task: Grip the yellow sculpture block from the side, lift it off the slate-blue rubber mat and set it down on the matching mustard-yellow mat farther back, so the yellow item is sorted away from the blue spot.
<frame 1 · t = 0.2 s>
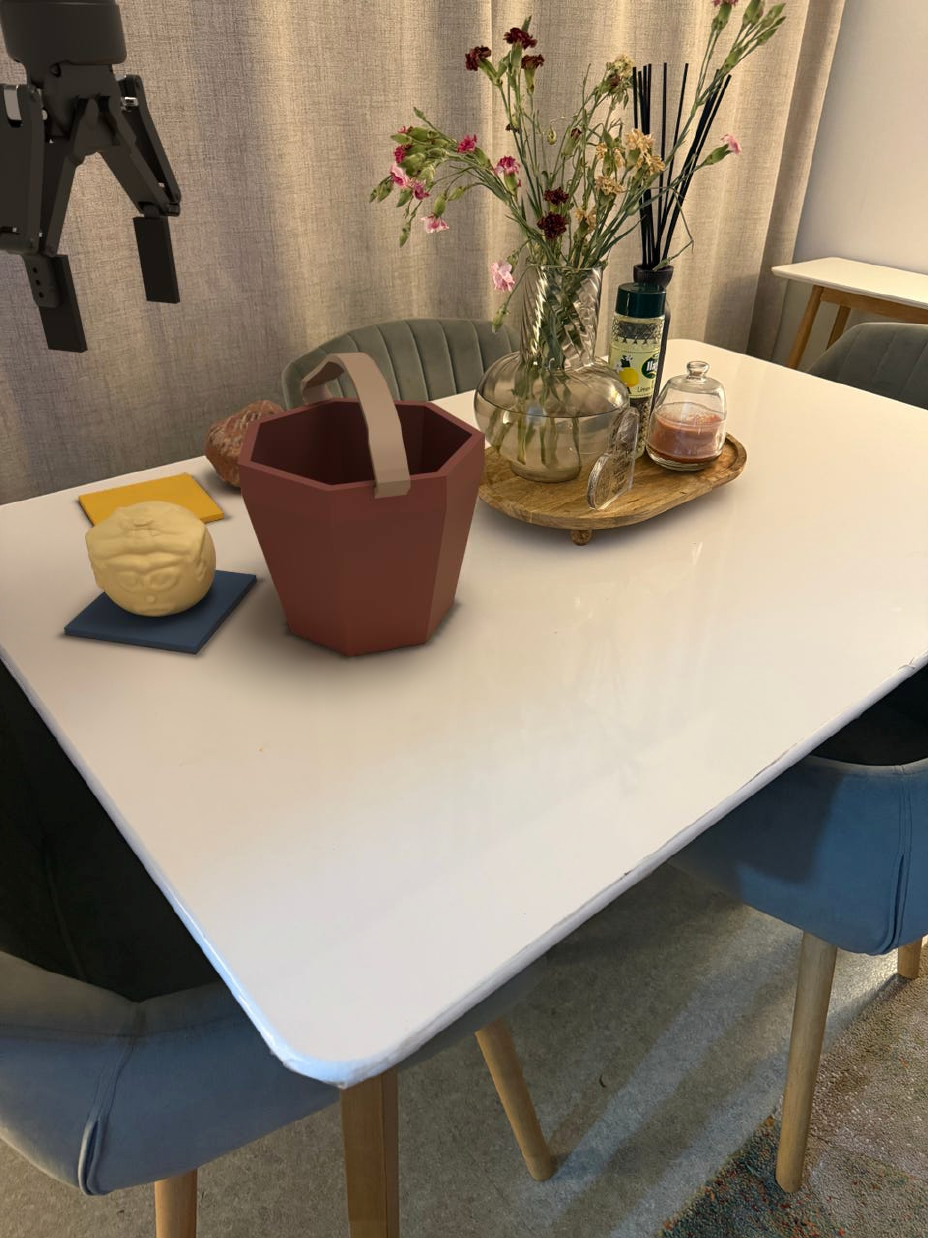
hand: (119, 324, 69), 30 cm above the table, tool pointing down, fingers open, 13 cm apart
sculpture: (164, 601, 91), point 1 cm above the table, touching blue mat
bucket: (375, 608, 92), on the table
yellow mat: (150, 509, 110), on the table
blue mat: (165, 606, 91), on the table
decorative rock: (258, 479, 118), on the table
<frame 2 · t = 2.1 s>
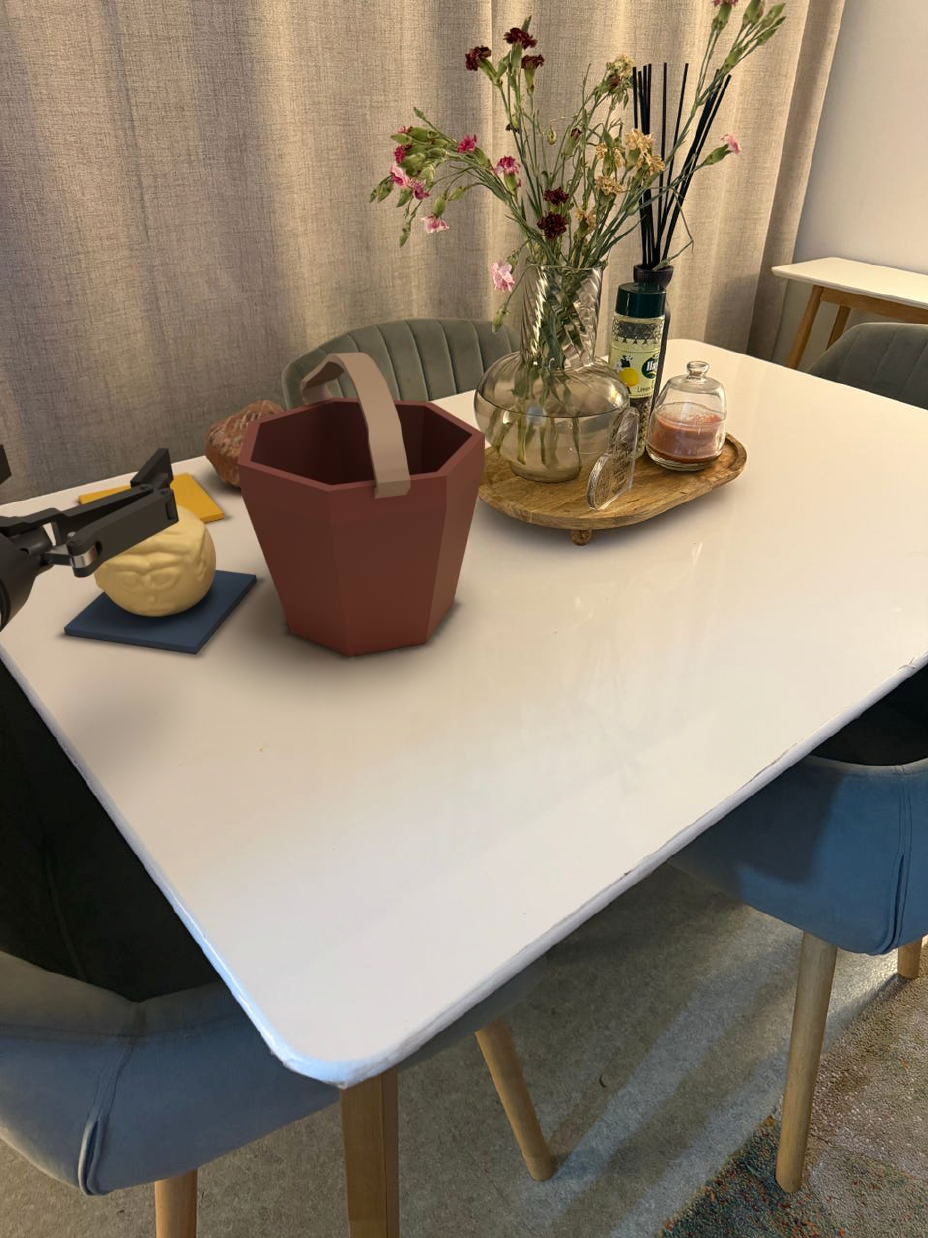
hand: (84, 461, 72), 20 cm above the table, tool horizontal, fingers open, 13 cm apart
nothing on the table moved.
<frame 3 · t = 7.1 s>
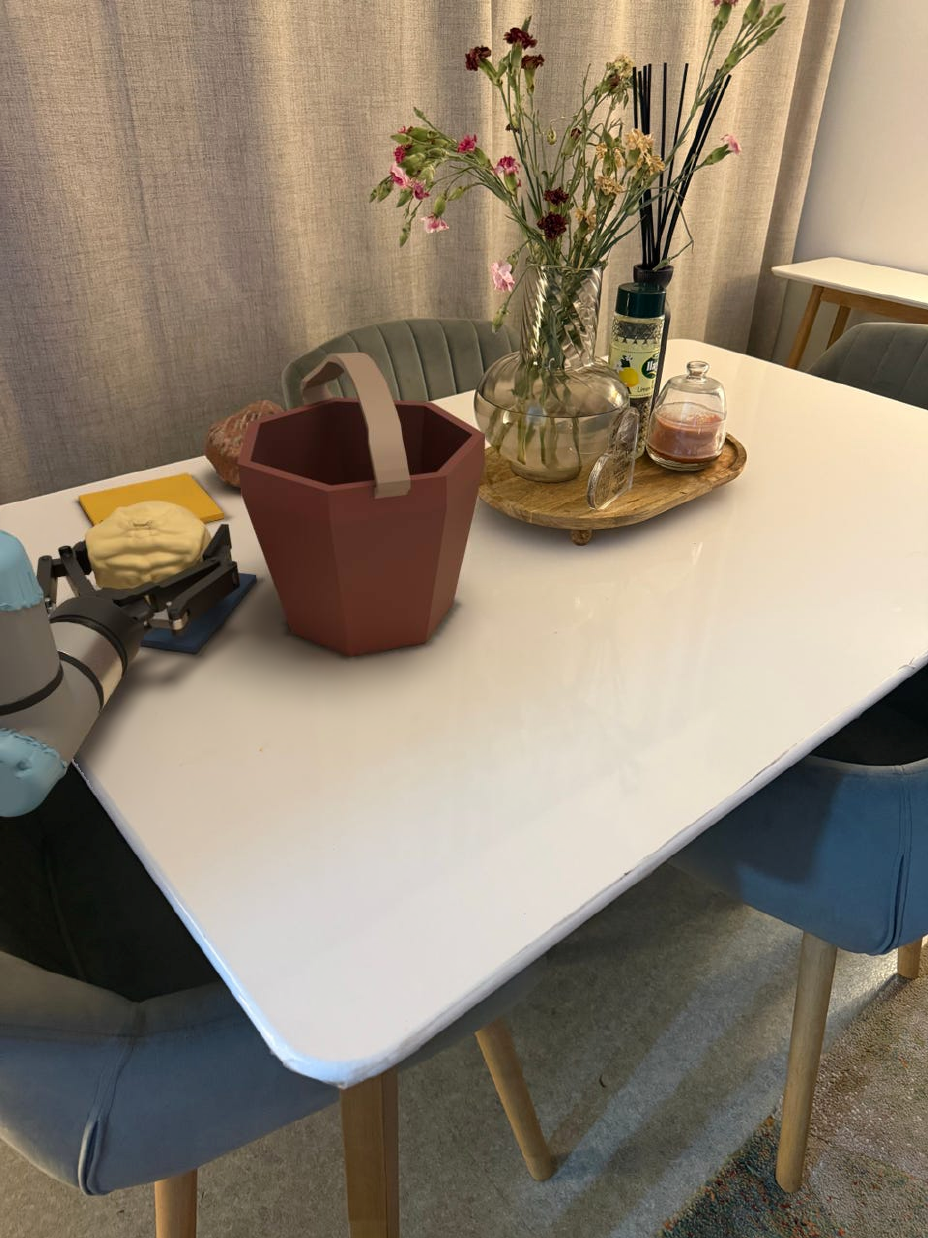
hand: (167, 533, 91), 6 cm above the table, tool horizontal, fingers closed on sculpture, 12 cm apart
sculpture: (164, 601, 91), point 1 cm above the table, touching blue mat, gripper
everything else where it was.
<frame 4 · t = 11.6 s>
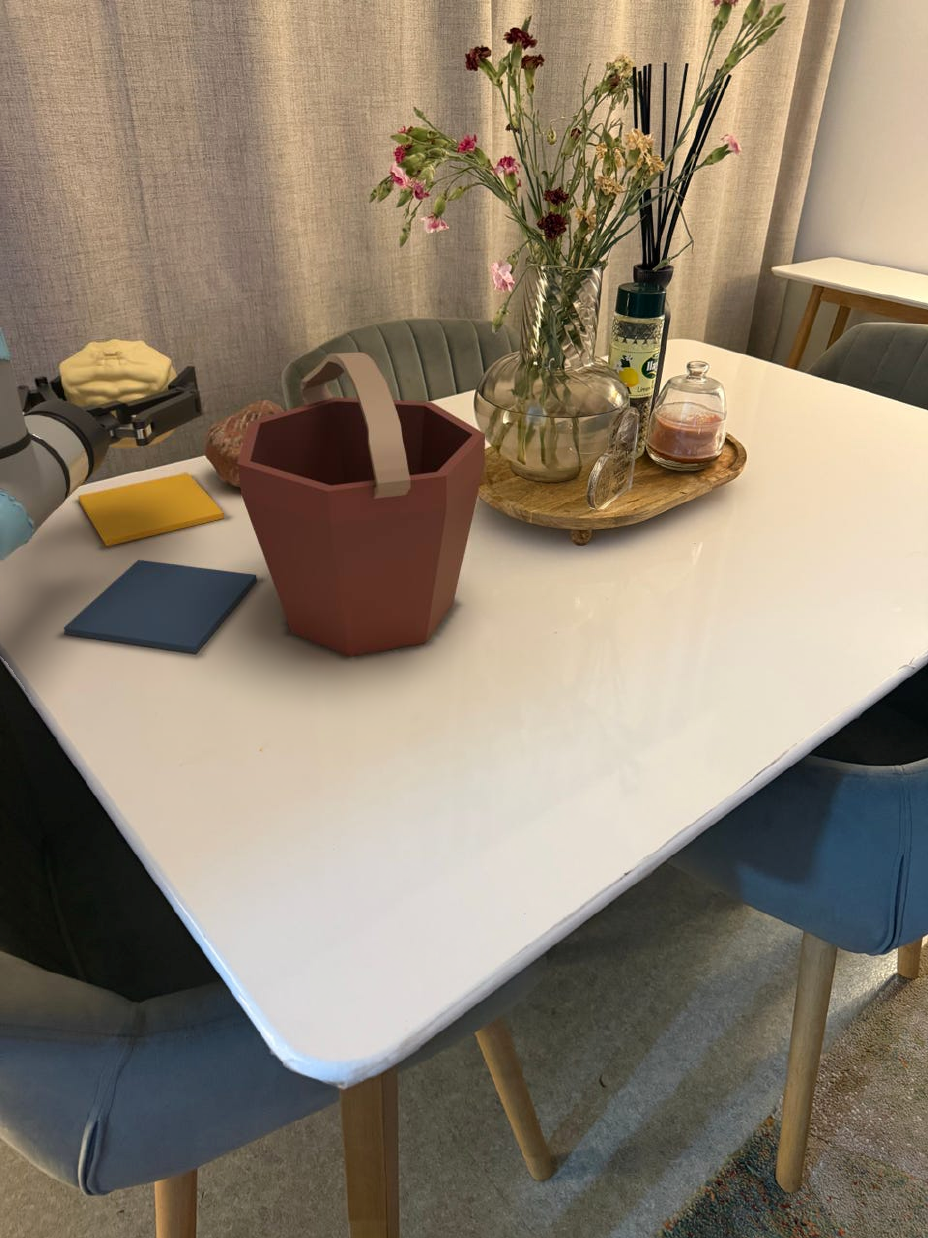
hand: (137, 376, 98), 18 cm above the table, tool horizontal, fingers closed on sculpture, 12 cm apart
sculpture: (135, 439, 98), point 12 cm above the table, touching gripper
everything else where it was.
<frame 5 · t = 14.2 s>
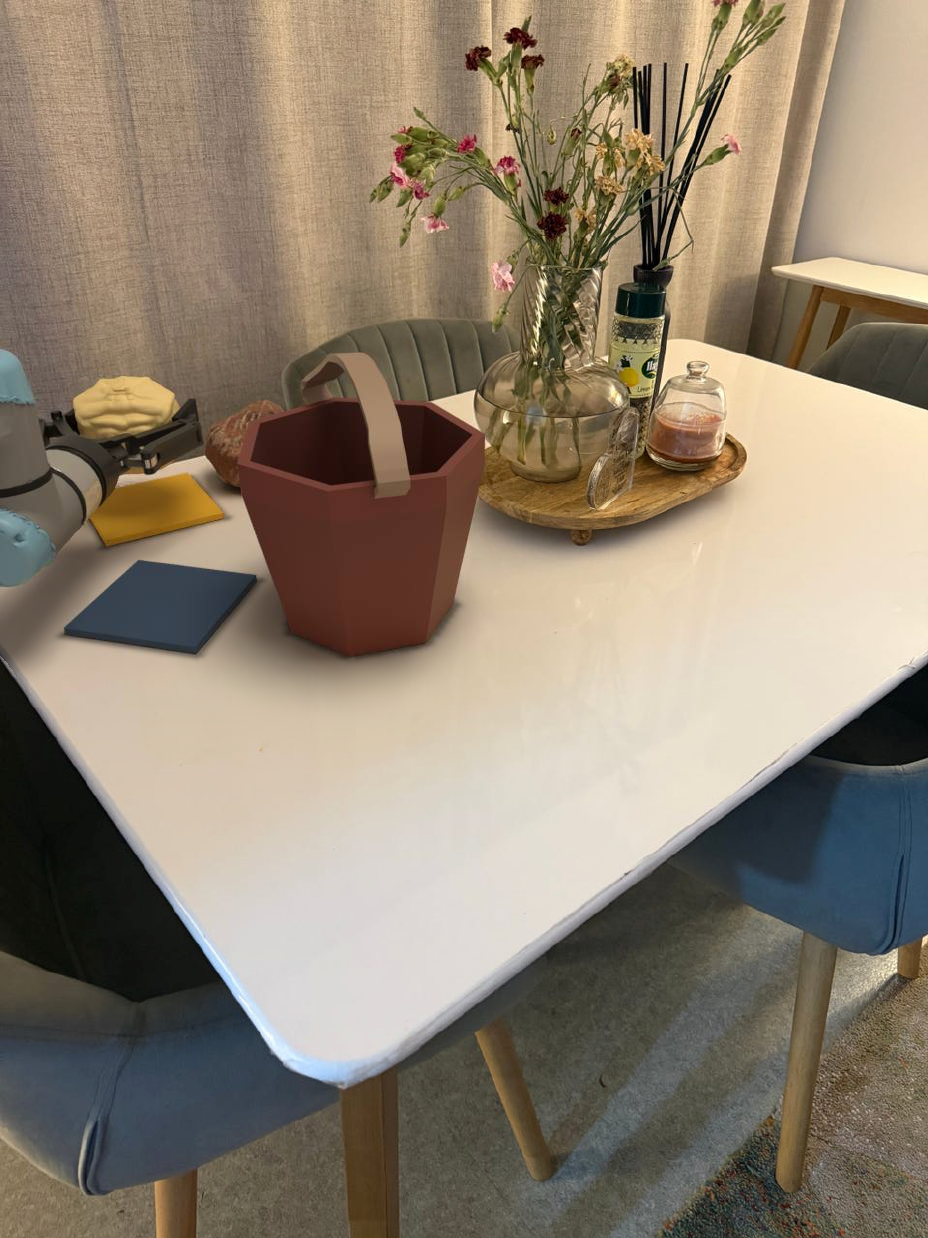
hand: (143, 408, 107), 12 cm above the table, tool horizontal, fingers closed on sculpture, 12 cm apart
sculpture: (141, 465, 107), point 6 cm above the table, touching gripper
everything else where it was.
when the fingers open (6 cm above the table, at t = 16.4 s): sculpture stays where it is, resting on yellow mat.
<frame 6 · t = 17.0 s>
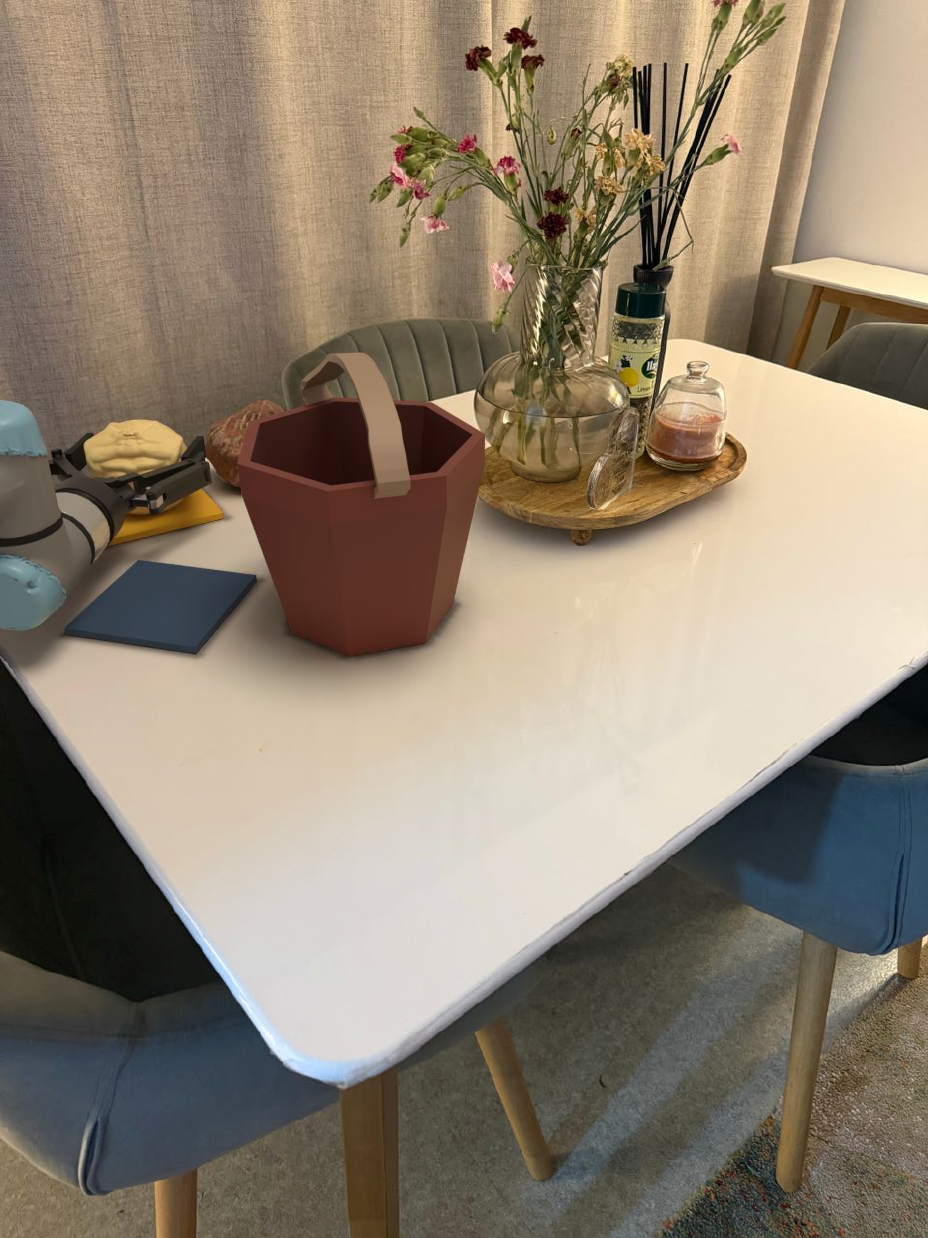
hand: (147, 444, 109), 7 cm above the table, tool horizontal, fingers open, 13 cm apart
sculpture: (149, 505, 110), point 1 cm above the table, touching yellow mat
everything else where it was.
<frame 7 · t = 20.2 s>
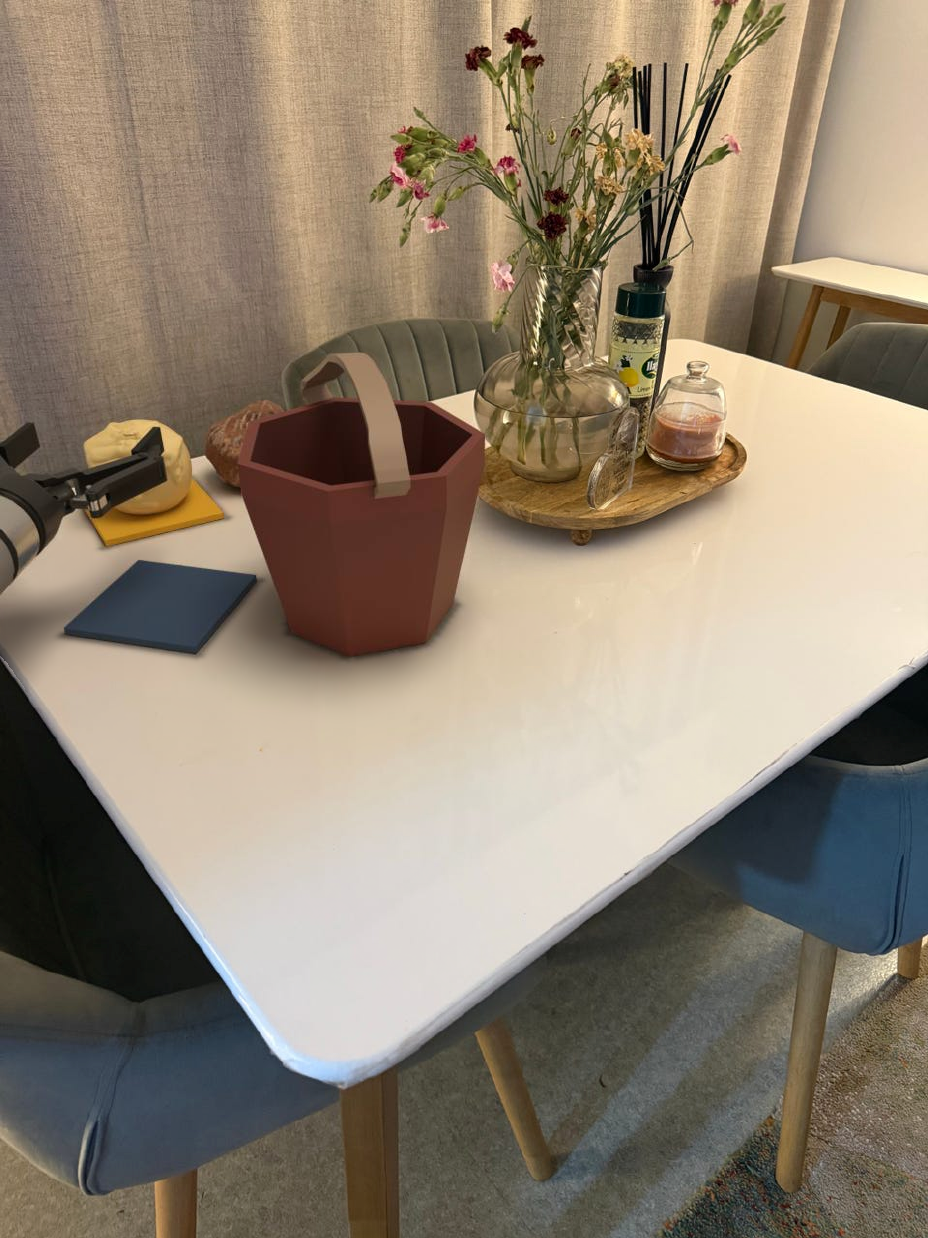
hand: (96, 436, 95), 13 cm above the table, tool horizontal, fingers open, 13 cm apart
nothing on the table moved.
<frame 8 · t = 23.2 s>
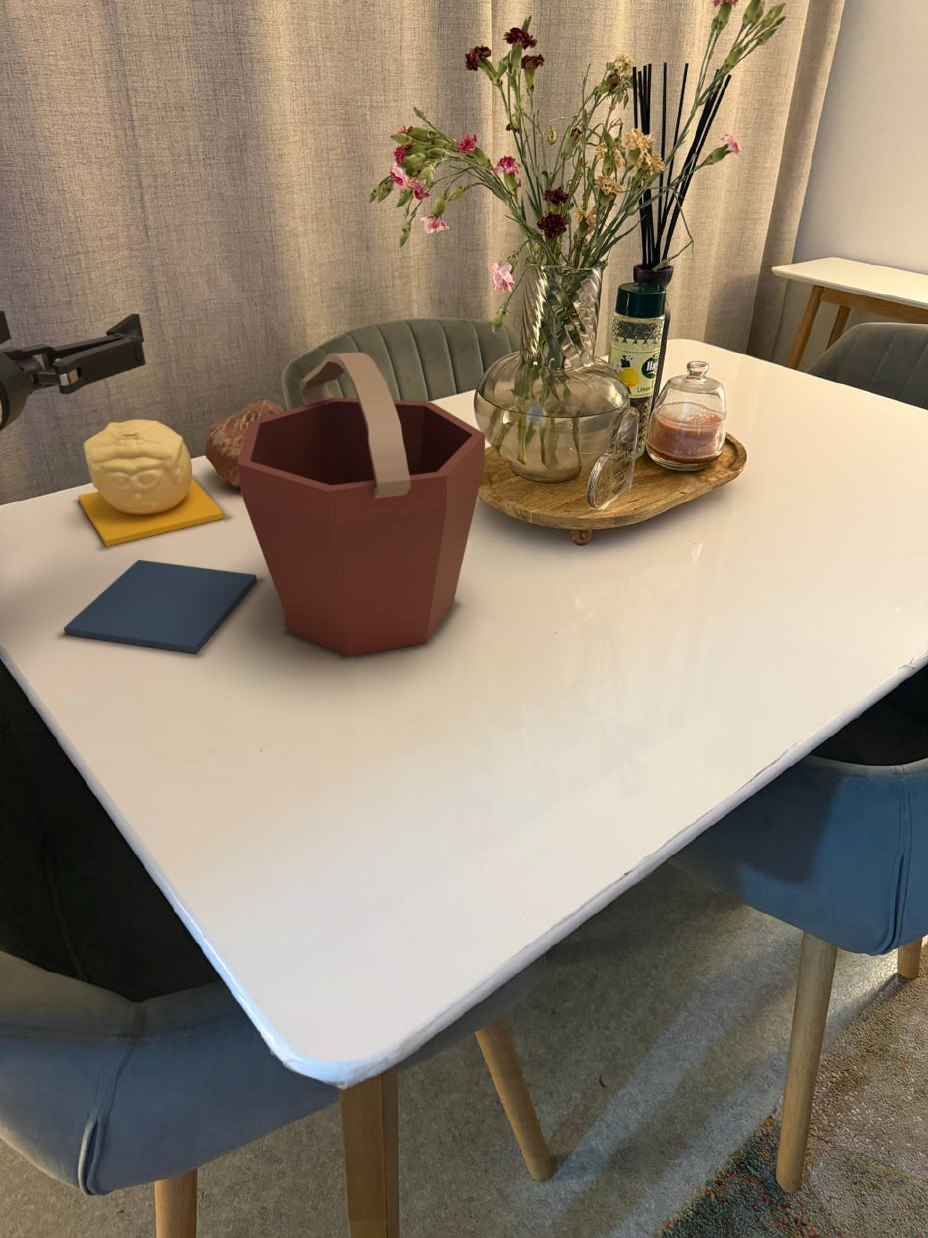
hand: (71, 325, 88), 25 cm above the table, tool horizontal, fingers open, 13 cm apart
nothing on the table moved.
at the end: sculpture inside the target area on the yellow mat (0.0 cm from its centre), point 0.6 cm above the yellow mat's base; sculpture tilted 0°; the gripper is holding nothing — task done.
